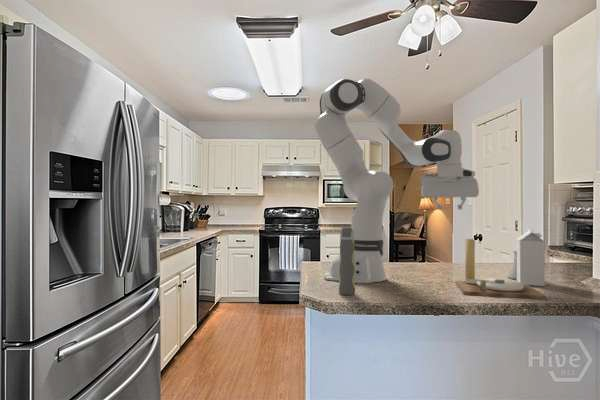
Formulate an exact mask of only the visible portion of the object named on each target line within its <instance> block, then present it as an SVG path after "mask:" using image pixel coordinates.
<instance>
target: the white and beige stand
mask: <svg viewBox="0 0 600 400" xmlns="http://www.w3.org/2000/svg"><path fill="white" fill-rule="evenodd" d="M475 244H476V239H473V238H466V239H465V280H464V281H465V282H466V283H473V284H477V285H478V286H479V287H480V280H484V281H486V289H491V290H498V291H521V290H524V285H523V284H522V283H519V282H518V281H517V280H512V279H511V280H510V279H502V278H476V272H475V271H476V258H475V257H476V249H475V248H476V245H475Z"/></svg>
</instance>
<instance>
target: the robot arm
mask: <svg viewBox="0 0 600 400" xmlns="http://www.w3.org/2000/svg"><path fill="white" fill-rule="evenodd" d="M354 109H356V110H359V111H361V112H362V113H363V114H365V116H366V117H368V118H369V119H370V120H371V122H373V123H374V124H375V125H376V126H377V127H378V129H379V131H380V132H381V134H382V135H384V137H385V138H386V139H387V140H388V141H389V142H390V143H391V144H392V145H393V147H395V148H396V150H397V151H398V152H399V153H400V155H401V158H402V159H403V161H404V163H405V164H406V165H408V166H409V167H410V168H419V167H422V166H426V165H427V166H428V165H430V164H435V163H436V172H435V173H424V174H422V175H421V176H420V184H421V191H420V195H421V197H422V198H432V199H433V202H434V204H435V205H436V207H435V209H436V210H442V204H439V203H438V200H439V198H460V201H461V202H460V203H459V204H457V210H460V211H461V210H463V205H464V204H465V202H466V200H467V199H466V198H477V197H478V196H479V195H480V194H479V192H480V191H479V183H478V180H477V179H476V178H475V176H476V172H475V171H474V170H470V169H467V168H464V167H463V163H462V161H461V159H462V158H461V157H462V155H463V154H462V153H463V148H462V138H461V135H460V133H459V132H458V131H457V130H453V129H442V130H439V132H438V133H436V134H434V135H432V136H429V137H427V138H423V139H421V140H418V141H417V140H414V139H411V138H410V137H409V136H408V135H407V134H406V133H405V131H403V129H402V128H401V127H400V126H399V124H398V122H399V119H400V115H401V111H402V110H401V104H400V103H399V102H398V101H397V99H396V98H395V97H394V96H393V95H392V94H391V93H390V92H389V91H387V90H386V89H385V88H384V87H383V86H381V85H380V84H378V83H377V82H375V81H374V80H373V79H370V78H363V79H360V80H359V81H354V80H352V79H348V78H345V79H340V80H337V81H336V82H334V83H333V84H331V85H329V86H328V87H327V88H326V89H325V91H324V92H323V93H322V94H321V95H320V98H319V111H320V116H318V118H317V119H316V120H315V122H314V129H315V131H316V135H317V136H318V138H319V140H320V143H321V145H322V146H323V148H324V149H325V151H326V153H327V154H328V156H329V157H330V159H331V161H332V162H333V164H334V166H335V168H336V169H337V171H338V174H339V176H340V179H341V182H342V185H343V187H342V188H343V191H344V192H343V193H344V195H346V197H347V198H348V199H350V200H353V201H355V202H356V206H355V210H354V213H353V215H352V216H351V218H350V219H351V228H352V229H353V230H354V266H355V283H356V284H370V283H376V282H377V283H378V282H379V283H380V282H383V281H386V280H388V279H387V275H386V271H385V267H384V266H385V265H384V258H383V257H384V254H385V252H384V250H385V247H384V246H385V244H384V239H383V220H384V219H383V218H384V217H383V216H384V213H385V207H386V204H387V201H388V199H389V197H390V195H391V194H392V193H393V190H394V182H393V178H392V176H390V174H389V173H387V172H385V171H383V170H378V169H371V170H370V169H368V168H367V166H366V163H365V160H364V150H363V148H362V146H361V145H360V144H359V142H358V140H357V138H356V137H355V135H354V134H353V132H352V131H351V129H350V128H349V126H348V124H347V121H346V114H348V113H349V112H350V111H352V110H354ZM339 269H340V253H339V254H338V255H337V256H336V257H334V258H333V259H332V261H331V263H330V268H329V271H327V272H325V273H323V274H324V275H323V279H325V280H328V281H336V282H339V279H340V271H339Z"/></svg>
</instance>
